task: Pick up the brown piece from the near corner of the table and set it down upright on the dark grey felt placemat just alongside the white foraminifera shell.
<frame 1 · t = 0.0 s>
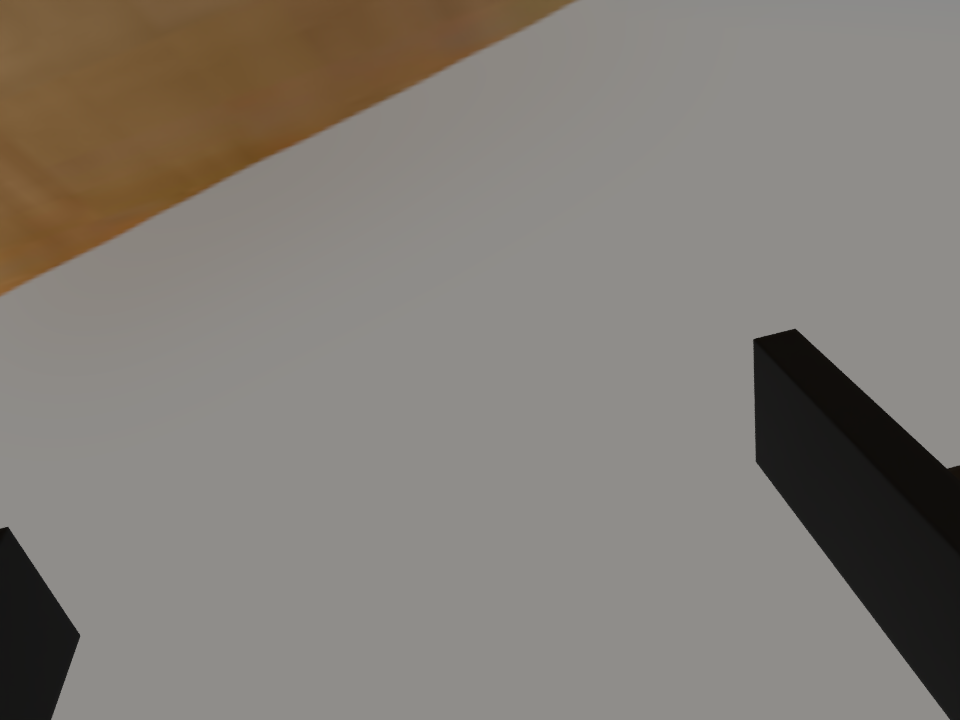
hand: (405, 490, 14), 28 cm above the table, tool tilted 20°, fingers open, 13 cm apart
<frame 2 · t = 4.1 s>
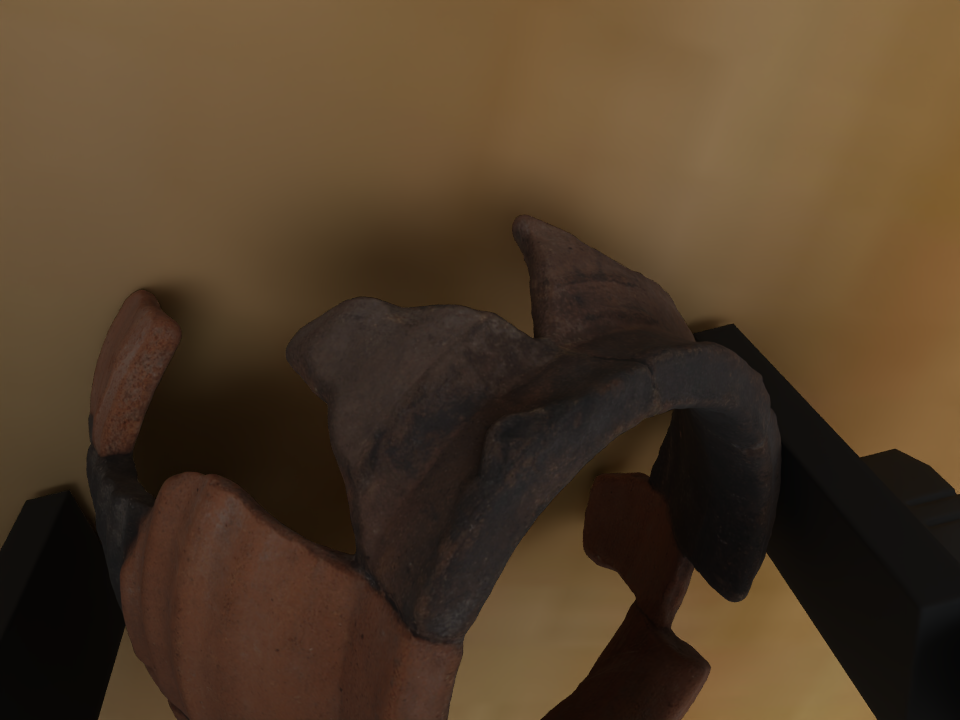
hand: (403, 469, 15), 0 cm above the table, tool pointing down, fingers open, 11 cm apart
brown piece: (374, 455, 15), on the table, touching gripper
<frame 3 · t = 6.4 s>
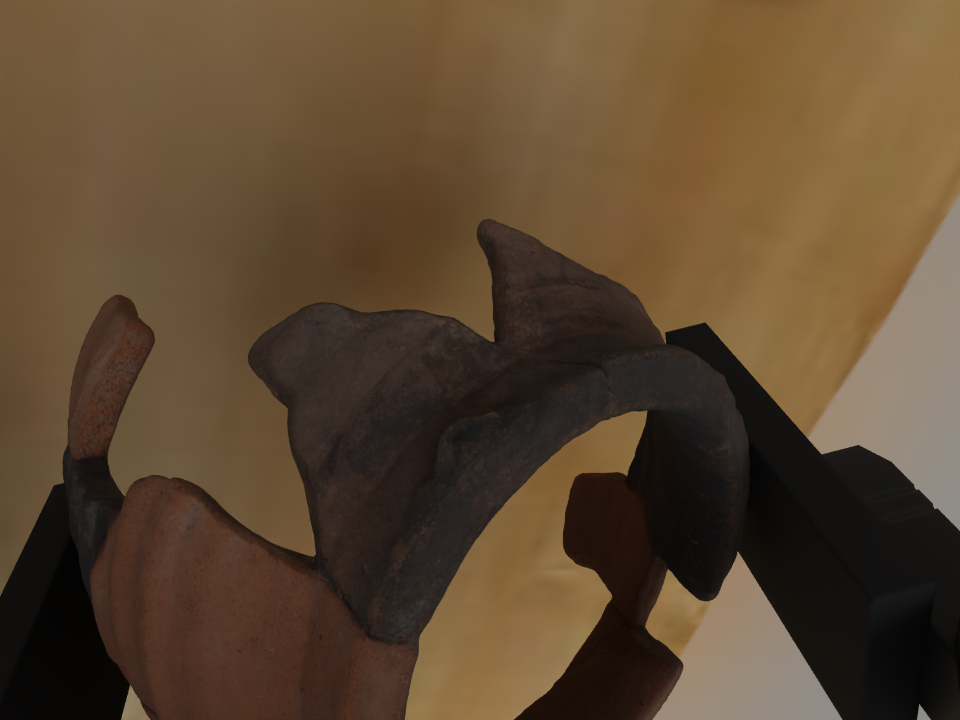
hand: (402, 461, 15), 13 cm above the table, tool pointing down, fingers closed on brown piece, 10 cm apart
brown piece: (354, 456, 15), point 12 cm above the table, touching gripper
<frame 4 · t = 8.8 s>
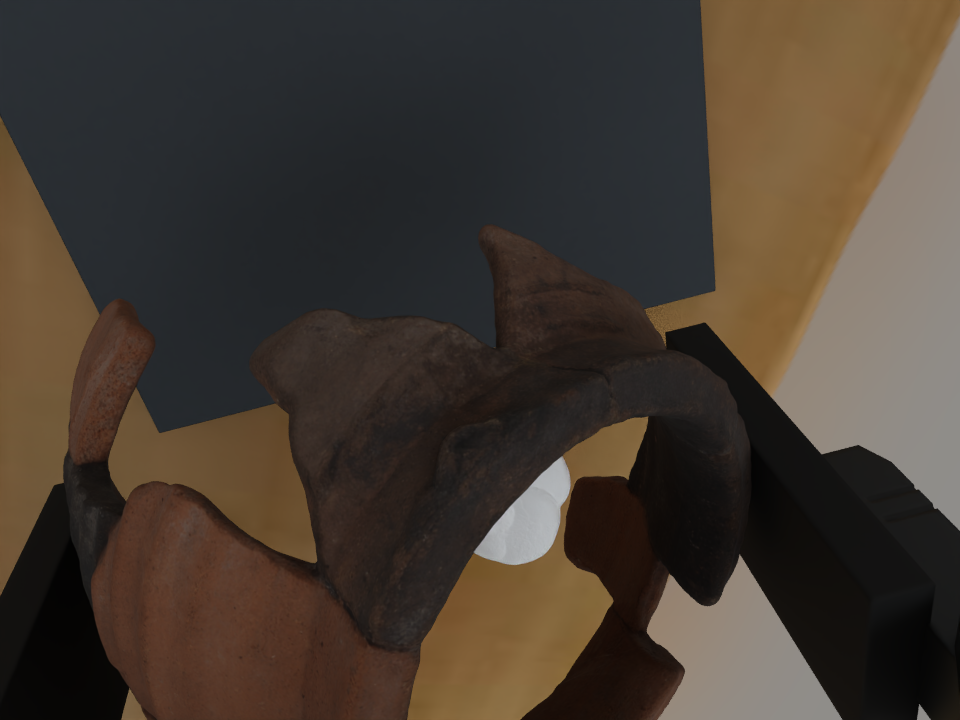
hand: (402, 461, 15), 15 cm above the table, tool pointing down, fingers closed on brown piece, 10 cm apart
white foraminifera shell: (490, 456, 34), on the table
brown piece: (355, 460, 15), point 15 cm above the table, touching gripper
placemat: (383, 141, 27), on the table
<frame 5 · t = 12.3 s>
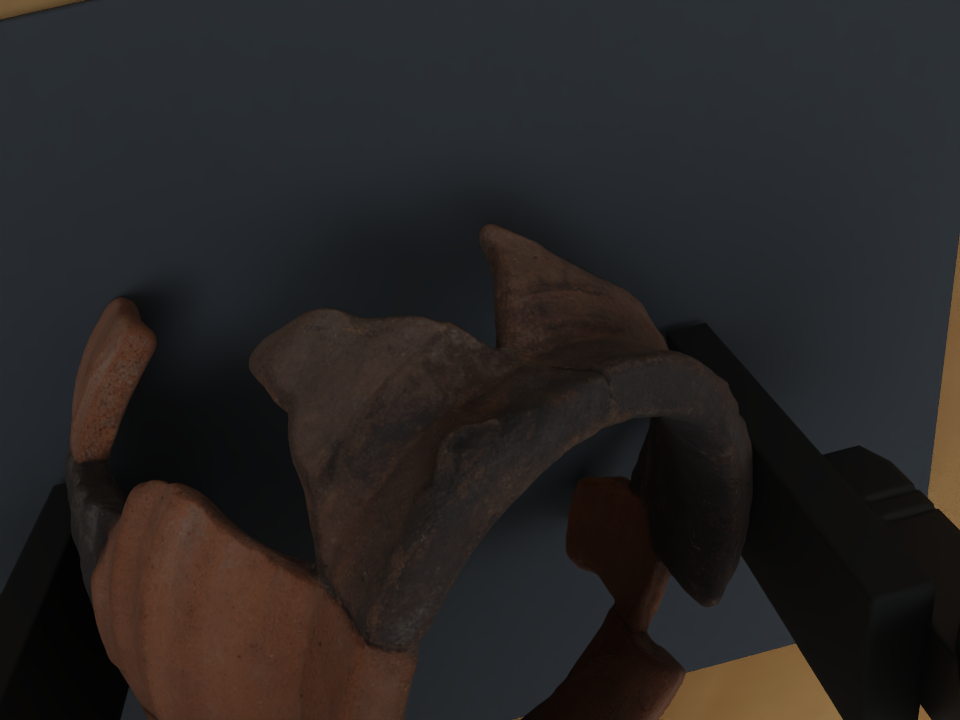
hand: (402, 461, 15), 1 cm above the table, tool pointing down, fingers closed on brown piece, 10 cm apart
brown piece: (356, 459, 15), resting on placemat, touching gripper
placemat: (397, 439, 16), on the table
when the fingers open (1 cm above the table, at t = 12.6 s): brown piece stays where it is, resting on placemat.
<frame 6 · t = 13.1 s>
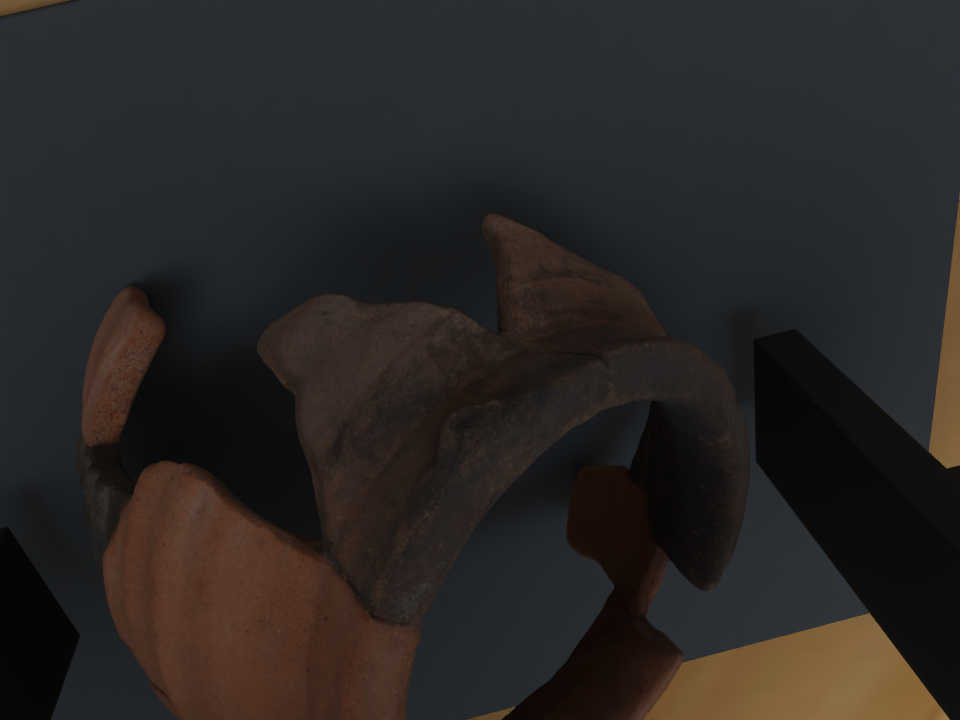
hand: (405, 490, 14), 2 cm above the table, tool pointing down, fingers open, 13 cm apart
brown piece: (361, 448, 16), resting on placemat
placemat: (401, 428, 16), on the table
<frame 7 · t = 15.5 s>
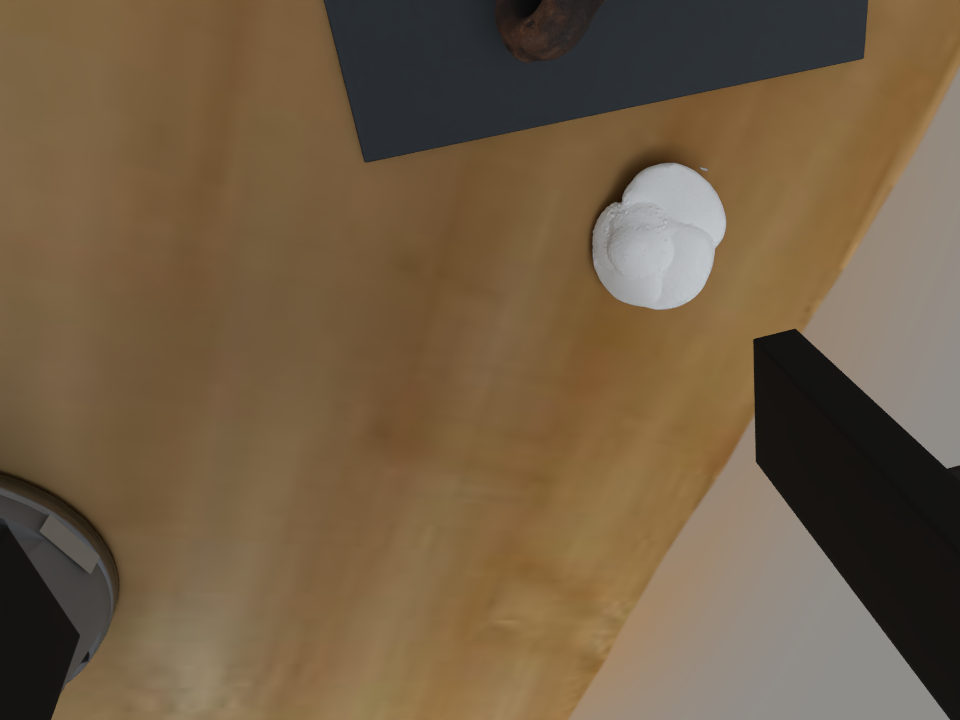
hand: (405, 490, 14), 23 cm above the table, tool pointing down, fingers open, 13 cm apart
white foraminifera shell: (642, 219, 38), on the table
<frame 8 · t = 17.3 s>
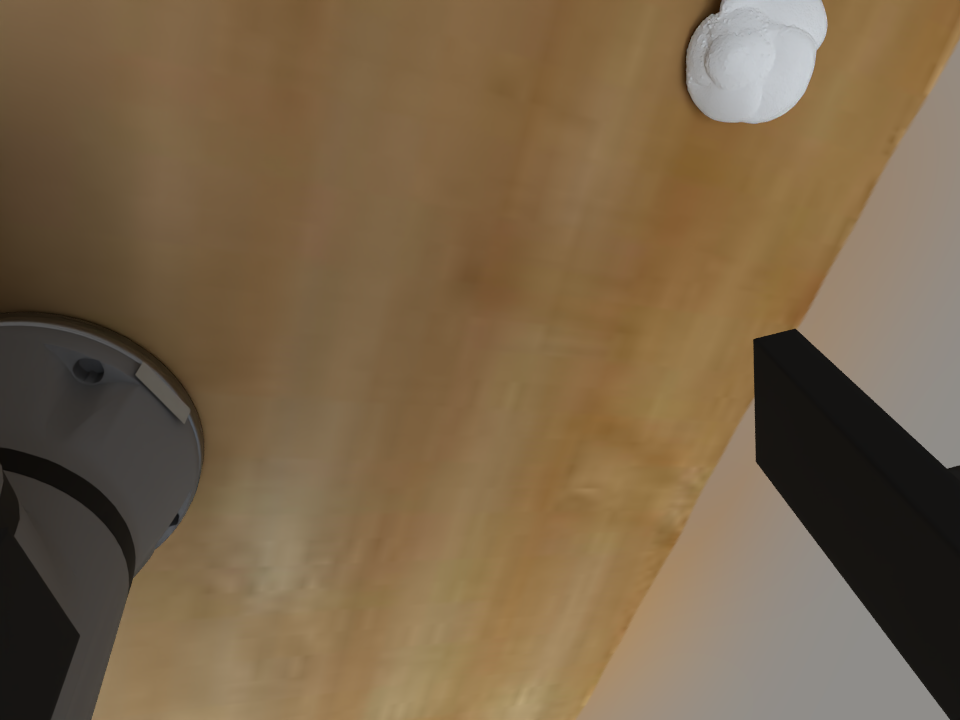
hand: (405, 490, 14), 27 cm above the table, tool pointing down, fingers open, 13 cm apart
white foraminifera shell: (734, 39, 38), on the table
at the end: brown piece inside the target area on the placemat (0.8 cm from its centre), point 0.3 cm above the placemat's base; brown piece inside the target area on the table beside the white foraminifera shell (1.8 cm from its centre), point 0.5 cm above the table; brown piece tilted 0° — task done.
